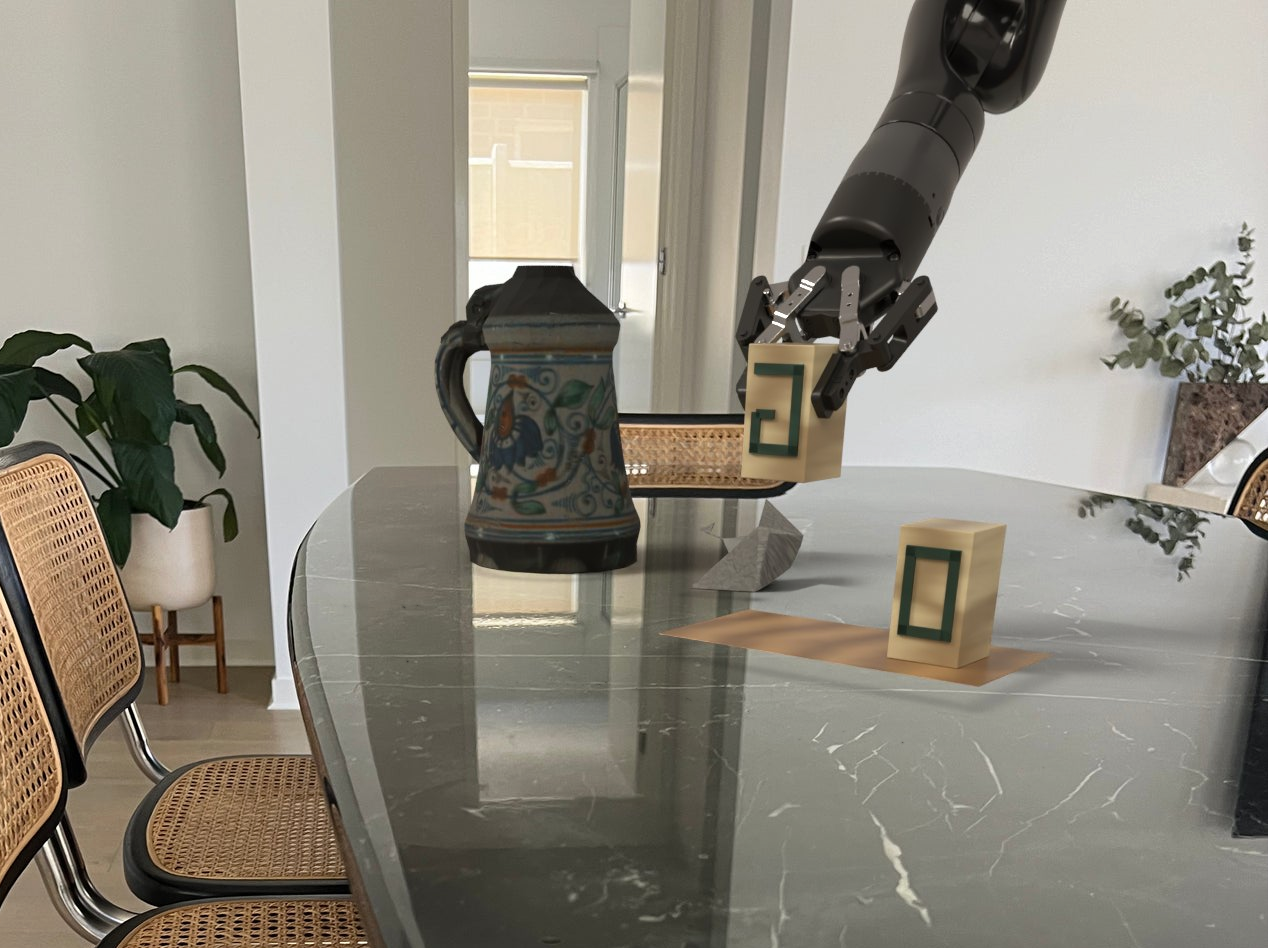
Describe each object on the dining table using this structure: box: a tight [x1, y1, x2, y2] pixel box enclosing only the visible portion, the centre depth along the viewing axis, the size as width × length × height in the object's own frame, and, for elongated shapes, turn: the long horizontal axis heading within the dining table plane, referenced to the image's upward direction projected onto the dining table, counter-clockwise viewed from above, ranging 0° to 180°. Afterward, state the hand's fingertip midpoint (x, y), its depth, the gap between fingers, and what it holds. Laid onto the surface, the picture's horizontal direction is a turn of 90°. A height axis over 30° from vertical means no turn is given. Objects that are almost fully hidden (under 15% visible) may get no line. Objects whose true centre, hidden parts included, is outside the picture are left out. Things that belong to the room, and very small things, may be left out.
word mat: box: [658, 609, 1053, 688], centre depth 101 cm, size 24×12×1 cm, turn 51°
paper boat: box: [689, 498, 805, 593], centre depth 126 cm, size 12×6×9 cm
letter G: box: [740, 342, 848, 484], centre depth 99 cm, size 5×5×8 cm
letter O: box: [887, 517, 1008, 669], centre depth 95 cm, size 5×5×8 cm
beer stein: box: [433, 264, 641, 574], centre depth 133 cm, size 16×19×25 cm
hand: (782, 406), depth 98 cm, fingers closed on letter G, 5 cm apart
